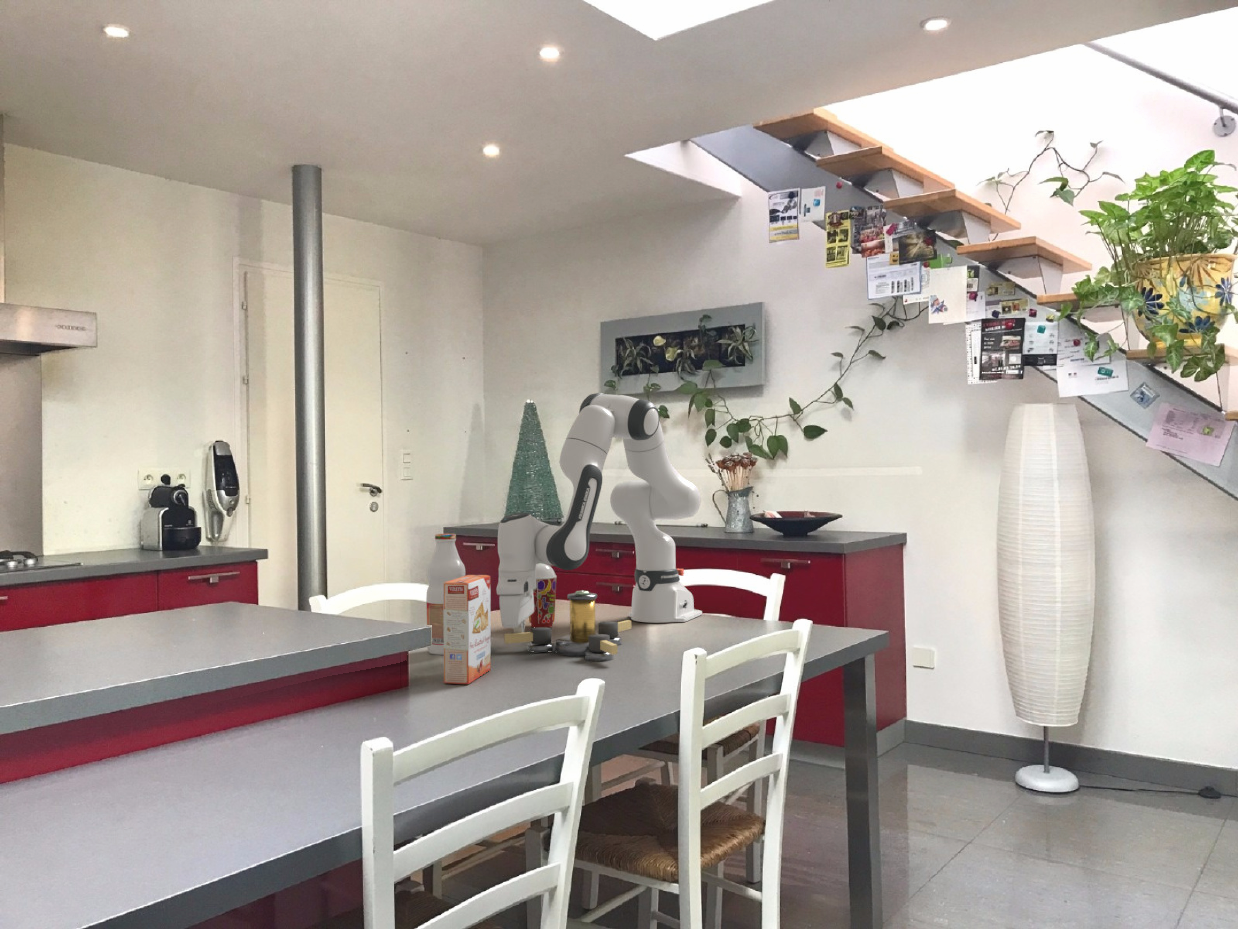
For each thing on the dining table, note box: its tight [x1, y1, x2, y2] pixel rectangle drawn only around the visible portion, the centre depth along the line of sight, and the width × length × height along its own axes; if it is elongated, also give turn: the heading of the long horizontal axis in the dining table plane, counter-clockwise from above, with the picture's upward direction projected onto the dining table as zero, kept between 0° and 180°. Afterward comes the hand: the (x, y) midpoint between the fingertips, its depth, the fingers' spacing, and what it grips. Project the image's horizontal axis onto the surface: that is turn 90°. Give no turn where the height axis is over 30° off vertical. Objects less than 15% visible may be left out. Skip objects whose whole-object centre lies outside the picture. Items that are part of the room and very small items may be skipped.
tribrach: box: [527, 590, 622, 662], centre depth 236 cm, size 21×24×14 cm
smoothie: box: [528, 563, 557, 628], centre depth 267 cm, size 8×8×20 cm
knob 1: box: [504, 627, 552, 644], centre depth 234 cm, size 11×5×3 cm, turn 112°
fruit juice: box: [425, 533, 466, 656], centre depth 235 cm, size 9×9×28 cm
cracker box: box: [443, 574, 492, 685], centre depth 207 cm, size 14×6×21 cm, turn 168°
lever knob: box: [597, 619, 632, 638], centre depth 244 cm, size 11×5×3 cm, turn 144°
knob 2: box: [588, 633, 619, 656], centre depth 222 cm, size 11×5×3 cm, turn 24°
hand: (519, 639), depth 235 cm, fingers closed
